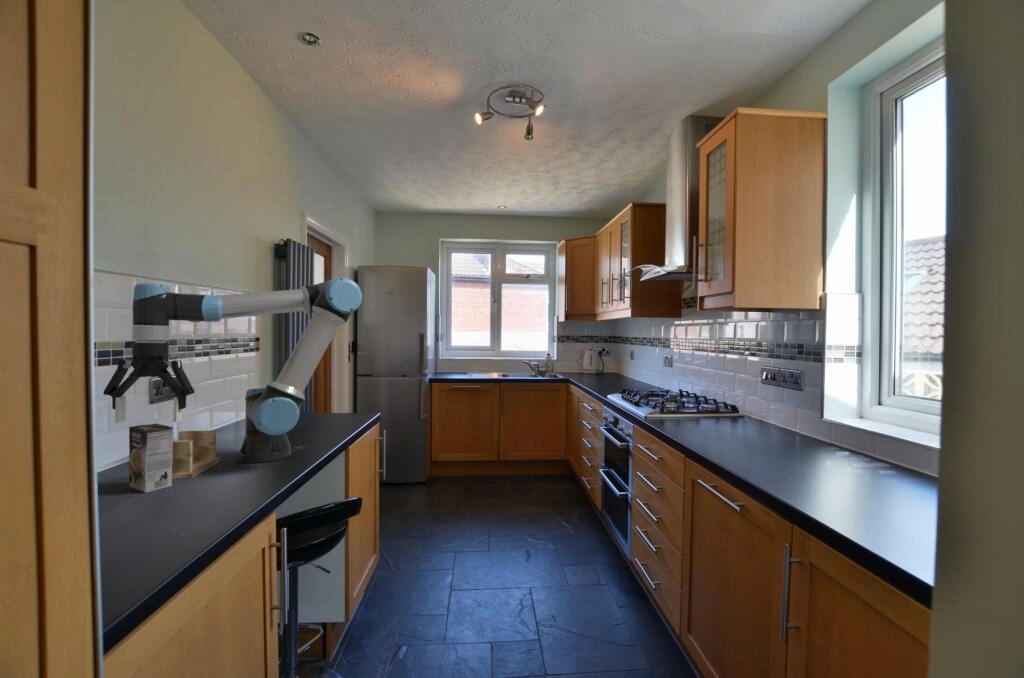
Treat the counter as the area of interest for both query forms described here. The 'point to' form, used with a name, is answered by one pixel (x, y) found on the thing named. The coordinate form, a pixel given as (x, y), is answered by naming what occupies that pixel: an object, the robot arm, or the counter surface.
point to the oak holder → (193, 453)
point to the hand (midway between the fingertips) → (149, 421)
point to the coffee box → (150, 457)
